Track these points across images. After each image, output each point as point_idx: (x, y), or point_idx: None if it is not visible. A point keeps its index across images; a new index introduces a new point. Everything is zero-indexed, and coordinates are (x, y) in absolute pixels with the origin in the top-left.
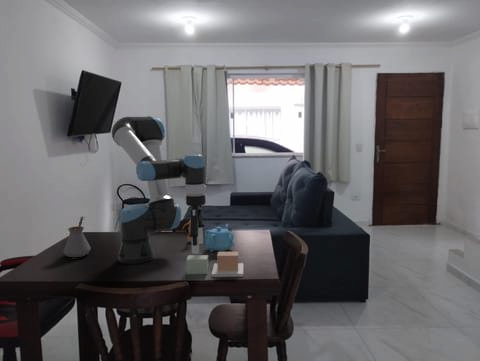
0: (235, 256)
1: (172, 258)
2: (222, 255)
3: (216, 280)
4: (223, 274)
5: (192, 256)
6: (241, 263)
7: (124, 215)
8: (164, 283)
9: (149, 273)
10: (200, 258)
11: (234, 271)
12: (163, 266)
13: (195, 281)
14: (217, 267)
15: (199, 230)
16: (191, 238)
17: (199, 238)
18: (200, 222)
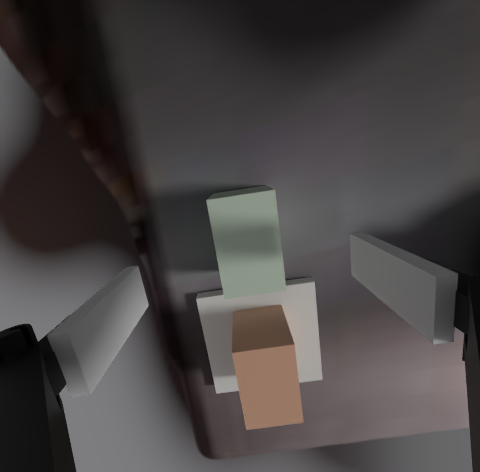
0: (244, 417)
1: (421, 49)
2: (238, 373)
3: (169, 314)
4: (204, 335)
5: (258, 218)
6: (318, 374)
7: None
8: (95, 132)
9: (193, 4)
10: (231, 266)
11: (232, 365)
12: (297, 44)
13: (144, 248)
14: (268, 303)
15: (414, 302)
16: (61, 326)
17: (369, 268)
18: (468, 398)
